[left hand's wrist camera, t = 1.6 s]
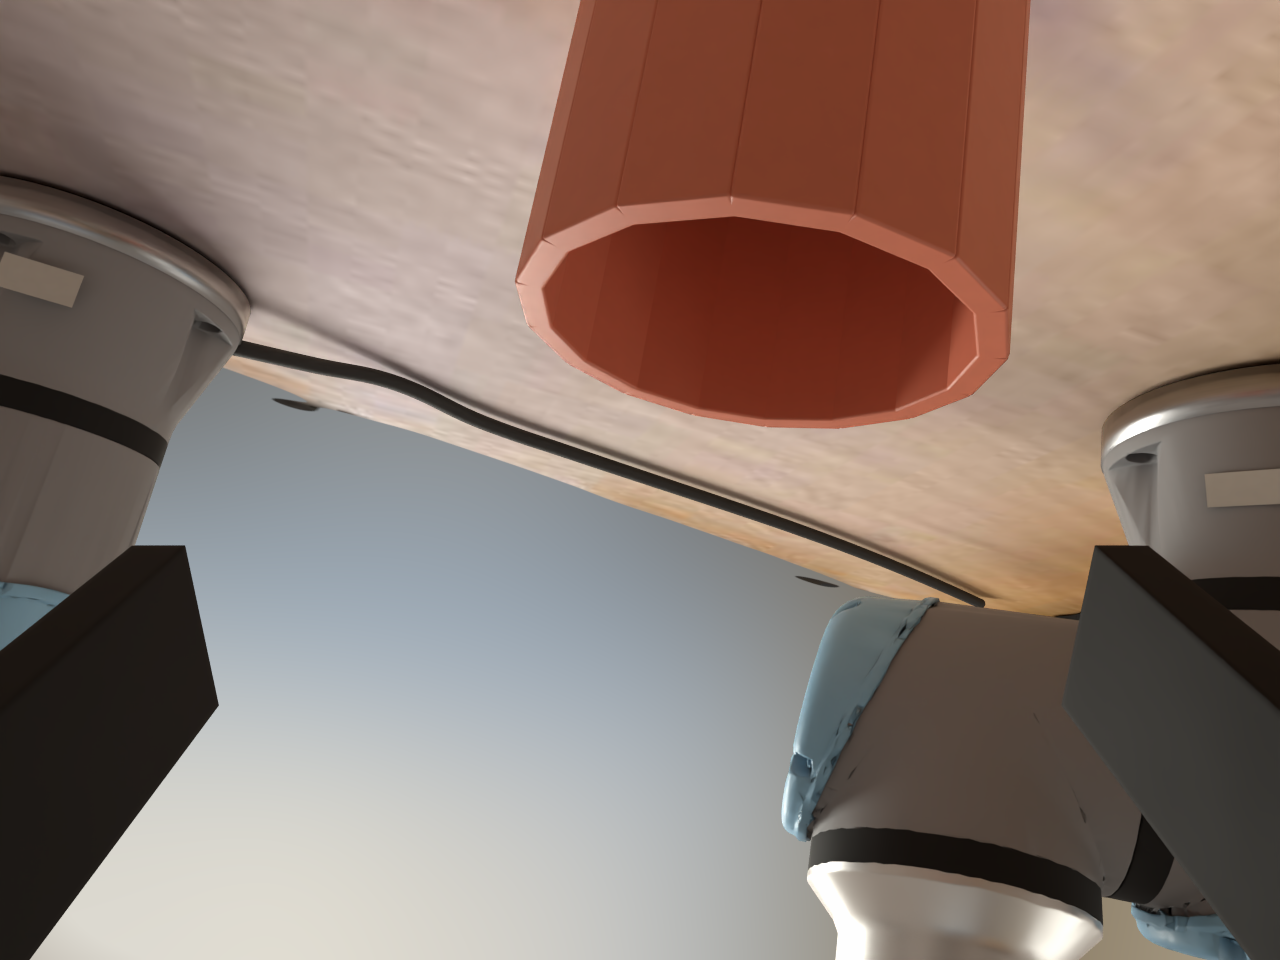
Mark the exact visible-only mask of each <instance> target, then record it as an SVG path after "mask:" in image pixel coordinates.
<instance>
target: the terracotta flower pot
mask: <svg viewBox="0 0 1280 960" xmlns="http://www.w3.org/2000/svg"><path fill="white" fill-rule="evenodd" d="M1029 16H1030V0H581V2H580V6H579V10H578V15H577V19H576V23H575V27H574V32H573V36H572V40H571V44H570V49H569V53H568V57H567V61H566V66H565V70H564V74H563V78H562V83H561V87H560V91H559V95H558V100H557V104H556V108H555V112H554V117H553V121H552V125H551V129H550V134H549V138H548V142H547V146H546V151H545V155H544V159H543V163H542V168H541V172H540V176H539V180H538V185H537V189H536V193H535V198H534V202H533V206H532V210H531V215H530V219H529V223H528V227H527V232H526V236H525V240H524V244H523V249H522V253H521V257H520V261H519V266H518V270H517V274H516V279H515V283H516V287H517V290H518V294H519V298H520V301H521V305H522V308H523V312H524V316H525V319H526V323H527V325H528V326H529V327H530V328H531V329H532V330H533V331H534V332H535V333H536V334H537V335H538V336H539V337H540V338H541V339H542V340H543V341H544V342H545V343H546V344H547V345H548V346H549V347H551V348H552V349H553V350H554V351H555V352H556V353H557V354H558V355H559V356H560V357H561V358H562V359H563V360H564V361H565V362H567V363H568V364H569V365H571V366H573V367H575V368H577V369H579V370H580V371H582V372H584V373H586V374H588V375H590V376H592V377H594V378H596V379H597V380H599V381H601V382H603V383H605V384H607V385H609V386H611V387H613V388H614V389H616V390H618V391H620V392H622V393H625V394H627V395H630V396H633V397H636V398H640V399H643V400H646V401H649V402H652V403H656V404H659V405H662V406H665V407H668V408H671V409H675V410H678V411H681V412H684V413H687V414H693V415H695V416H701V417H707V418H713V419H720V420H726V421H732V422H738V423H744V424H751V425H757V426H763V427H764V426H766V427H787V428H835V429H839V428H847V427H854V426H861V425H869V424H876V423H883V422H890V421H897V420H904V419H910V418H914V417H917V416H919V415H922V414H924V413H927V412H930V411H932V410H935V409H937V408H940V407H942V406H945V405H948V404H950V403H953V402H955V401H958V400H960V399H963V398H966V397H968V396H970V395H972V394H973V393H974V392H975V391H976V390H977V389H978V388H979V387H980V386H981V385H982V384H983V383H984V382H985V381H986V380H987V379H988V378H989V377H990V376H991V375H992V374H993V373H994V372H995V371H996V370H997V369H998V368H999V367H1000V366H1001V365H1002V364H1003V363H1004V362H1005V361H1006V360H1007V359H1008V356H1009V354H1010V339H1011V322H1012V305H1013V288H1014V271H1015V254H1016V237H1017V220H1018V203H1019V186H1020V169H1021V152H1022V135H1023V118H1024V101H1025V84H1026V67H1027V50H1028V33H1029Z"/></svg>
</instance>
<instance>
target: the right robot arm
mask: <svg viewBox="0 0 1280 960" xmlns="http://www.w3.org/2000/svg"><path fill="white" fill-rule="evenodd" d="M250 313H251V309H250V304H249V302H248V300H247V298H246V296H245V294H244V293H243V292H242V290H241V289H240V288H239V287H238V286H237V284H236V283H235V282H234V281H233V280H232V279H231V278H230V277H228V276H227V275H226V274H225V273H224V272H223V271H222V270H220V269H219V268H218V267H217V266H215V265H214V264H213V263H211V262H210V261H209V260H207V259H206V258H204V257H203V256H202V255H200V254H198V253H197V252H195V251H194V250H192V249H191V248H189V247H187V246H186V245H184V244H183V243H181V242H179V241H177V240H176V239H174V238H172V237H170V236H168V235H167V234H165V233H163V232H161V231H159V230H157V229H155V228H153V227H151V226H149V225H147V224H145V223H143V222H141V221H139V220H136V219H134V218H132V217H130V216H128V215H125V214H123V213H121V212H118V211H116V210H114V209H111V208H109V207H106V206H104V205H101V204H98V203H96V202H93V201H91V200H88V199H85V198H82V197H79V196H76V195H73V194H70V193H67V192H64V191H61V190H58V189H54V188H51V187H47V186H44V185H40V184H36V183H32V182H28V181H24V180H19V179H14V178H10V177H4V176H0V651H1V650H2V649H3V648H4V647H6V646H7V645H8V644H9V643H11V642H12V641H13V640H14V639H16V638H17V637H18V636H19V635H21V634H22V633H23V632H24V631H26V630H27V629H28V628H29V627H31V626H32V625H33V624H34V623H36V622H37V621H38V620H39V619H41V618H42V617H43V616H44V615H46V614H47V613H48V612H49V611H51V610H52V609H53V608H54V607H56V606H57V605H58V604H59V603H61V602H62V601H63V600H64V599H66V598H67V597H68V596H69V595H71V594H72V593H73V592H74V591H76V590H77V589H78V588H79V587H81V586H82V585H83V584H84V583H86V582H87V581H88V580H89V579H91V578H92V577H93V576H94V575H96V574H97V573H98V572H99V571H101V570H102V569H103V568H104V567H106V566H107V565H108V564H109V563H111V562H112V561H113V560H114V559H116V558H117V557H118V556H119V555H121V554H122V553H123V552H124V551H126V550H127V549H128V548H129V547H131V546H135V543H136V540H137V537H138V534H139V531H140V528H141V525H142V522H143V519H144V516H145V513H146V509H147V506H148V503H149V500H150V497H151V494H152V491H153V488H154V485H155V482H156V479H157V476H158V473H159V470H160V466H161V464H162V461H163V457H164V455H165V452H166V449H167V446H168V443H169V440H170V438H171V435H172V433H173V431H174V429H175V427H176V426H177V424H178V423H179V422H180V421H181V419H182V418H183V417H184V415H185V414H186V413H187V412H188V410H189V409H190V408H191V407H192V405H193V404H194V403H195V401H196V400H197V399H198V398H199V396H200V395H201V394H202V393H203V391H204V390H205V389H206V388H207V386H208V385H209V384H210V383H211V381H212V380H213V379H214V377H215V376H216V375H217V374H218V372H219V371H220V370H221V369H222V367H223V366H224V365H225V364H226V362H227V361H228V360H229V359H230V357H231V356H232V355H234V356H239V357H243V358H247V359H252V360H256V361H261V362H265V363H270V364H274V365H279V366H283V367H288V368H292V369H297V370H301V371H306V372H311V373H315V374H320V375H326V376H331V377H337V378H343V379H349V380H355V381H360V382H365V383H370V384H374V385H378V386H381V387H385V388H388V389H391V390H394V391H397V392H400V393H402V394H405V395H408V396H410V397H412V398H415V399H417V400H419V401H422V402H424V403H426V404H428V405H430V406H432V407H434V408H436V409H438V410H440V411H442V412H444V413H446V414H448V415H450V416H452V417H454V418H456V419H458V420H460V421H463V422H465V423H467V424H469V425H472V426H474V427H477V428H479V429H482V430H485V431H487V432H490V433H493V434H495V435H498V436H501V437H504V438H506V439H509V440H512V441H515V442H518V443H521V444H524V445H527V446H530V447H533V448H536V449H539V450H543V451H546V452H549V453H552V454H555V455H558V456H561V457H564V458H567V459H570V460H573V461H576V462H579V463H582V464H585V465H588V466H591V467H594V468H597V469H600V470H603V471H606V472H609V473H612V474H615V475H618V476H621V477H624V478H627V479H630V480H633V481H637V482H640V483H643V484H646V485H649V486H652V487H655V488H658V489H661V490H664V491H667V492H670V493H673V494H676V495H679V496H682V497H685V498H688V499H691V500H694V501H698V502H701V503H704V504H707V505H710V506H713V507H716V508H719V509H722V510H725V511H728V512H731V513H734V514H737V515H740V516H743V517H746V518H749V519H752V520H755V521H758V522H760V523H763V524H766V525H769V526H772V527H775V528H778V529H781V530H784V531H787V532H790V533H792V534H795V535H798V536H801V537H804V538H807V539H809V540H812V541H815V542H818V543H821V544H823V545H826V546H829V547H832V548H834V549H837V550H840V551H842V552H845V553H848V554H850V555H853V556H856V557H858V558H861V559H864V560H866V561H869V562H871V563H874V564H876V565H879V566H881V567H884V568H886V569H889V570H891V571H894V572H896V573H899V574H901V575H904V576H906V577H909V578H911V579H913V580H916V581H918V582H920V583H923V584H925V585H927V586H930V587H932V588H934V589H937V590H939V591H941V592H944V593H946V594H948V595H951V596H953V597H955V598H957V599H960V600H962V601H964V602H966V603H969V604H971V605H973V606H975V607H982V608H983V607H984V606H985V601H984V600H983V599H980V598H978V597H976V596H974V595H972V594H970V593H967V592H965V591H963V590H961V589H959V588H956V587H954V586H952V585H950V584H948V583H945V582H943V581H941V580H939V579H936V578H934V577H932V576H930V575H927V574H925V573H923V572H921V571H918V570H916V569H914V568H911V567H909V566H906V565H904V564H902V563H899V562H897V561H895V560H892V559H890V558H887V557H885V556H882V555H880V554H877V553H875V552H872V551H870V550H867V549H865V548H862V547H860V546H857V545H855V544H852V543H849V542H847V541H844V540H842V539H839V538H836V537H834V536H831V535H828V534H826V533H823V532H820V531H817V530H815V529H812V528H809V527H806V526H804V525H801V524H798V523H795V522H793V521H790V520H787V519H784V518H781V517H778V516H776V515H773V514H770V513H767V512H764V511H761V510H758V509H755V508H753V507H750V506H747V505H744V504H741V503H738V502H735V501H732V500H729V499H726V498H723V497H720V496H718V495H715V494H712V493H709V492H706V491H703V490H700V489H697V488H694V487H691V486H688V485H685V484H682V483H679V482H676V481H673V480H670V479H667V478H664V477H661V476H658V475H655V474H652V473H649V472H646V471H643V470H640V469H637V468H634V467H631V466H628V465H625V464H622V463H619V462H616V461H613V460H610V459H607V458H605V457H602V456H599V455H596V454H593V453H590V452H587V451H584V450H581V449H578V448H575V447H572V446H569V445H566V444H563V443H561V442H558V441H555V440H552V439H549V438H545V437H542V436H539V435H536V434H533V433H531V432H528V431H525V430H522V429H519V428H516V427H513V426H510V425H508V424H505V423H502V422H500V421H497V420H494V419H492V418H489V417H487V416H484V415H482V414H479V413H477V412H475V411H472V410H470V409H468V408H466V407H464V406H462V405H460V404H458V403H456V402H454V401H452V400H450V399H448V398H446V397H444V396H442V395H440V394H439V393H437V392H435V391H433V390H430V389H428V388H426V387H424V386H422V385H420V384H417V383H415V382H413V381H410V380H407V379H405V378H402V377H399V376H396V375H394V374H390V373H387V372H384V371H380V370H376V369H372V368H368V367H363V366H358V365H352V364H346V363H341V362H335V361H330V360H325V359H320V358H315V357H311V356H306V355H302V354H298V353H293V352H289V351H285V350H280V349H276V348H272V347H268V346H263V345H259V344H255V343H251V342H246V341H242V339H243V336H244V332H245V329H246V326H247V323H248V320H249V317H250Z"/></svg>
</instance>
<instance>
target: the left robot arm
mask: <svg viewBox="0 0 1280 960" xmlns="http://www.w3.org/2000/svg"><path fill="white" fill-rule="evenodd" d="M1101 469H1102V472H1103V474H1104V476H1105V479H1106V482H1107V485H1108V488H1109V491H1110V493H1111V496H1112V499H1113V502H1114V505H1115V507H1116V510H1117V513H1118V516H1119V519H1120V522H1121V524H1122V527H1123V530H1124V533H1125V536H1126V538H1127V541H1128V544H1129V546H1095V548H1094V553H1093V557H1092V562H1091V567H1090V571H1089V576H1088V581H1087V586H1086V590H1085V595H1084V600H1083V605H1082V609H1081V614H1080V619H1079V620H1071V619H1064V618H1056V617H1049V616H1041V615H1034V614H1026V613H1019V612H1012V611H1004V610H997V609H989V608H982V607H974V606H967V605H959V604H952V603H945V602H940V601H939V598H932V597H929V598H925V599H923V600H922V601H918V600H906V599H895V598H882V597H871V596H865V597H858V598H855V599H852V600H850V601H848V602H846V603H845V604H843V605H842V606H841V607H840V608H839V609H838V610H837V611H836V612H835V613H834V615H833V616H832V618H831V619H830V621H829V623H828V625H827V628H826V630H825V633H824V635H823V638H822V641H821V643H820V646H819V650H818V653H817V656H816V659H815V662H814V665H813V669H812V672H811V676H810V679H809V683H808V686H807V690H806V694H805V698H804V702H803V705H802V709H801V714H800V718H799V722H798V726H797V730H796V735H795V740H794V745H793V750H794V754H793V756H792V758H791V762H790V768H789V773H788V776H787V779H786V783H785V789H784V795H783V803H782V824H783V826H784V828H785V830H786V831H788V832H789V833H791V834H793V835H795V837H796V838H797V839H798V840H799V841H804V842H806V841H810V840H811V849H810V858H809V867H808V876H807V881H808V883H809V885H810V886H811V888H812V889H813V891H814V892H815V894H816V895H817V897H818V898H819V900H820V901H821V903H822V904H823V906H824V907H825V909H826V910H827V911H828V913H829V914H830V916H831V917H832V919H833V921H834V924H835V926H836V929H837V932H838V939H837V950H836V960H1079V959H1080V958H1081V957H1082V956H1083V955H1085V954H1086V953H1087V952H1088V951H1089V950H1090V949H1091V948H1092V947H1094V946H1095V945H1096V944H1097V943H1098V942H1099V941H1100V940H1101V939H1103V915H1102V897H1108V898H1113V899H1118V900H1122V901H1127V902H1132V907H1131V913H1132V915H1133V916H1134V918H1135V919H1136V921H1137V926H1138V929H1139V930H1140V932H1141V933H1142V935H1143V936H1144V937H1145V938H1147V939H1148V940H1149V941H1151V942H1153V943H1155V944H1157V945H1159V946H1162V947H1164V948H1167V949H1170V950H1174V951H1177V952H1180V953H1183V954H1187V955H1190V956H1194V957H1198V958H1202V959H1207V960H1280V364H1273V365H1263V366H1255V367H1247V368H1241V369H1234V370H1228V371H1223V372H1217V373H1212V374H1207V375H1203V376H1198V377H1194V378H1190V379H1186V380H1183V381H1179V382H1176V383H1172V384H1169V385H1166V386H1163V387H1160V388H1157V389H1155V390H1152V391H1150V392H1147V393H1145V394H1143V395H1140V396H1138V397H1136V398H1134V399H1132V400H1130V401H1129V402H1127V403H1125V404H1124V405H1122V406H1120V407H1119V408H1118V409H1116V410H1115V411H1114V412H1113V413H1112V414H1111V415H1110V416H1109V417H1108V418H1107V420H1106V421H1105V422H1104V425H1103V427H1102V442H1101ZM218 706H219V704H218V699H217V695H216V690H215V685H214V680H213V676H212V671H211V666H210V661H209V657H208V652H207V647H206V642H205V638H204V633H203V628H202V624H201V619H200V614H199V609H198V605H197V600H196V595H195V590H194V586H193V581H192V576H191V571H190V567H189V562H188V557H187V553H186V548H185V546H131V547H129V548H128V549H127V550H126V551H124V552H123V553H122V554H121V555H119V556H118V557H117V558H116V559H114V560H113V561H112V562H111V563H109V564H108V565H107V566H106V567H104V568H103V569H102V570H101V571H99V572H98V573H97V574H96V575H94V576H93V577H92V578H91V579H89V580H88V581H87V582H86V583H84V584H83V585H82V586H81V587H79V588H78V589H77V590H76V591H74V592H73V593H72V594H71V595H69V596H68V597H67V598H66V599H64V600H63V601H62V602H61V603H59V604H58V605H57V606H56V607H54V608H53V609H52V610H51V611H49V612H48V613H47V614H46V615H44V616H43V617H42V618H41V619H39V620H38V621H37V622H36V623H34V624H33V625H32V626H31V627H29V628H28V629H27V630H26V631H24V632H23V633H22V634H21V635H19V636H18V637H17V638H16V639H14V640H13V641H12V642H11V643H9V644H8V645H7V646H6V647H4V648H3V649H2V650H1V651H0V960H30V958H31V957H32V956H33V954H34V953H35V952H36V950H37V949H38V948H39V946H40V945H41V944H42V942H43V941H44V940H45V938H46V937H47V936H48V934H49V933H50V932H51V930H52V929H53V927H54V926H55V925H56V923H57V922H58V921H59V919H60V918H61V917H62V915H63V914H64V913H65V911H66V910H67V909H68V907H69V906H70V905H71V903H72V902H73V901H74V899H75V898H76V896H77V895H78V894H79V892H80V891H81V890H82V889H83V887H84V886H85V884H86V883H87V882H88V880H89V879H90V878H91V876H92V875H93V874H94V872H95V871H96V870H97V868H98V867H99V866H100V864H101V863H102V862H103V860H104V859H105V858H106V856H107V855H108V854H109V852H110V851H111V849H112V848H113V847H114V846H115V844H116V843H117V842H118V840H119V839H120V837H121V836H122V835H123V833H124V832H125V831H126V829H127V828H128V827H129V825H130V824H131V823H132V821H133V820H134V819H135V817H136V816H137V815H138V813H139V812H140V811H141V809H142V808H143V807H144V805H145V804H146V803H147V801H148V800H149V799H150V797H151V796H152V794H153V793H154V792H155V790H156V789H157V788H158V786H159V785H160V784H161V782H162V781H163V780H164V778H165V777H166V776H167V774H168V773H169V772H170V770H171V769H172V768H173V766H174V765H175V764H176V762H177V761H178V760H179V758H180V757H181V756H182V754H183V753H184V751H185V750H186V749H187V747H188V746H189V745H190V743H191V742H192V741H193V739H194V738H195V737H196V735H197V734H198V733H199V731H200V730H201V729H202V727H203V726H204V725H205V723H206V722H207V721H208V719H209V718H210V717H211V715H212V714H213V712H214V711H215V710H216V708H217V707H218Z"/></svg>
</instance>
